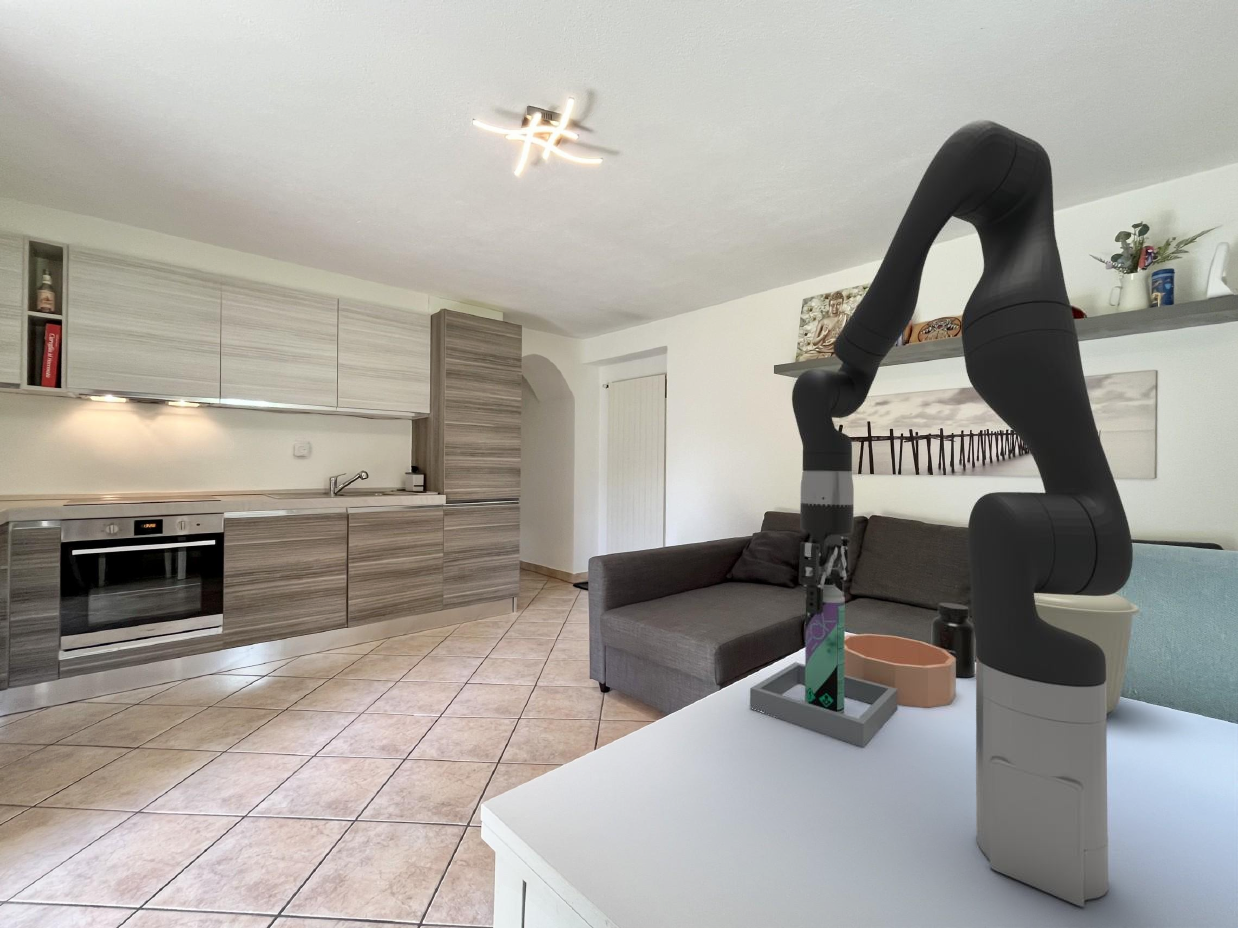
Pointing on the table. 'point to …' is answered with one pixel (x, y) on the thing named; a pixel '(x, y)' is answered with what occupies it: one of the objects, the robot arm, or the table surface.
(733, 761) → the table surface
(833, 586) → the spray can
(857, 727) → the parts tray
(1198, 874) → the table surface
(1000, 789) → the robot arm
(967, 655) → the supplement bottle
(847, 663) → the bowl
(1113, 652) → the canister
